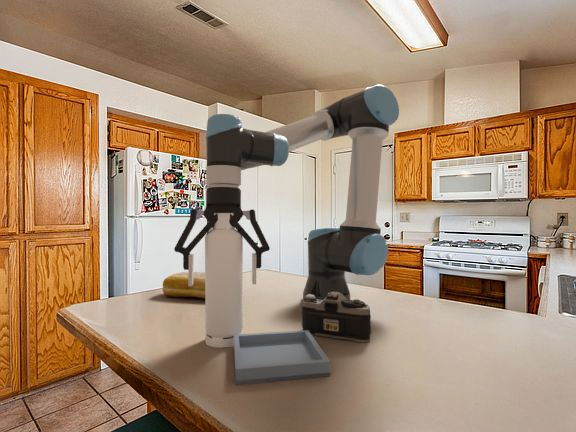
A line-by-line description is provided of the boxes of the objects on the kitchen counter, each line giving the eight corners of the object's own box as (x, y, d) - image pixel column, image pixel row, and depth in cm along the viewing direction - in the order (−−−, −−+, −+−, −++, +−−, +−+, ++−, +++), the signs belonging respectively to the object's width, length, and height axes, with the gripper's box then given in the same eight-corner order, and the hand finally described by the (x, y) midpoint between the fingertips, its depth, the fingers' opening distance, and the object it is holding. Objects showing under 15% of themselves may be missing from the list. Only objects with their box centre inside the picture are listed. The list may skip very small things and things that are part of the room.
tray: (308, 341, 74) (308, 329, 74) (330, 375, 58) (330, 361, 58) (233, 346, 71) (233, 334, 71) (235, 384, 55) (235, 369, 55)
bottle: (235, 348, 70) (234, 213, 70) (198, 345, 71) (198, 213, 71) (247, 335, 78) (247, 213, 77) (214, 332, 79) (214, 213, 79)
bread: (176, 290, 125) (176, 268, 124) (244, 294, 119) (244, 271, 119) (154, 299, 111) (154, 275, 111) (229, 304, 106) (229, 278, 106)
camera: (376, 330, 81) (376, 288, 81) (368, 346, 71) (368, 298, 71) (313, 322, 87) (313, 283, 87) (298, 335, 78) (298, 292, 78)
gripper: (277, 189, 80) (276, 279, 80) (167, 187, 76) (166, 282, 76) (282, 187, 73) (281, 285, 73) (160, 184, 68) (159, 289, 68)
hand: (222, 284), depth 74 cm, fingers open, 13 cm apart
